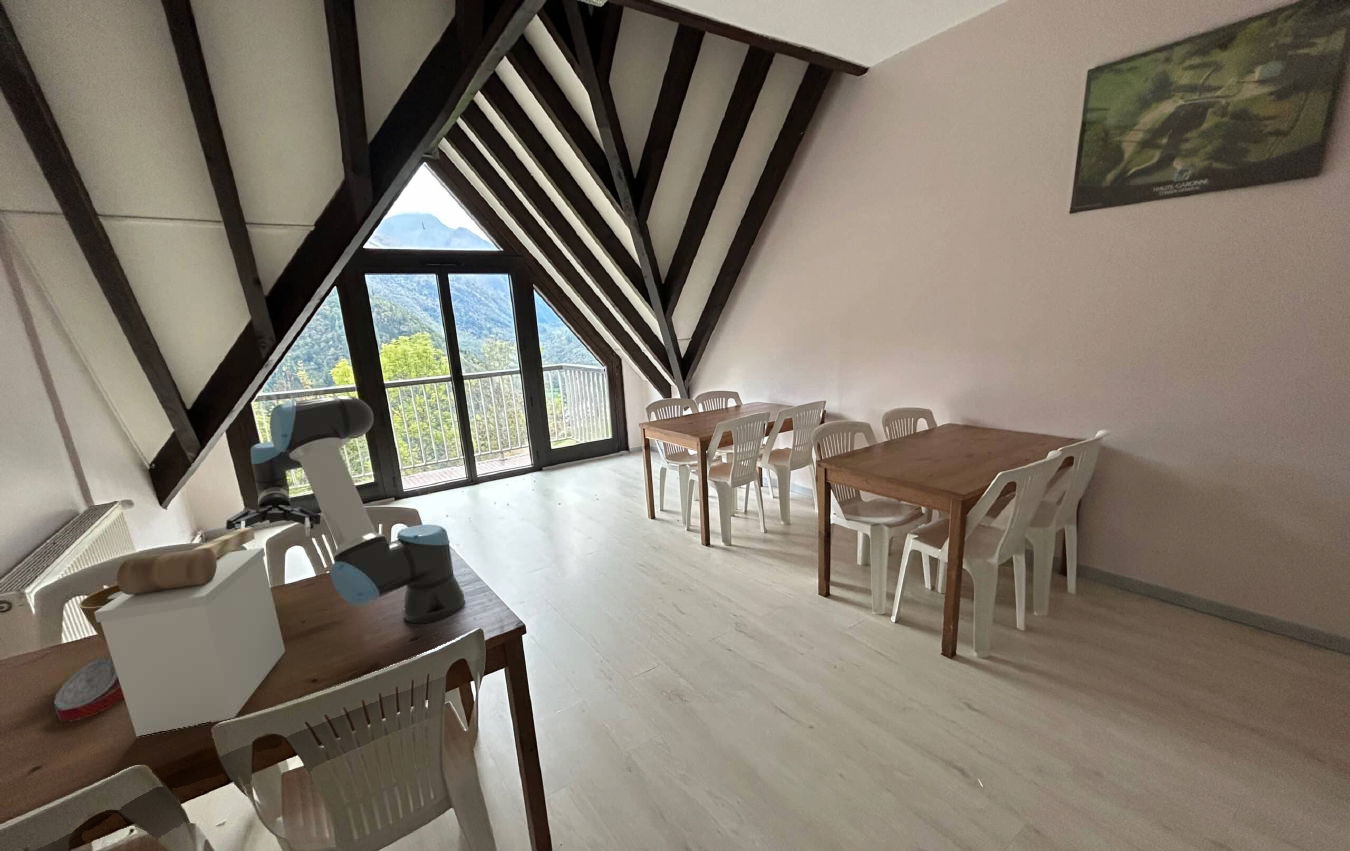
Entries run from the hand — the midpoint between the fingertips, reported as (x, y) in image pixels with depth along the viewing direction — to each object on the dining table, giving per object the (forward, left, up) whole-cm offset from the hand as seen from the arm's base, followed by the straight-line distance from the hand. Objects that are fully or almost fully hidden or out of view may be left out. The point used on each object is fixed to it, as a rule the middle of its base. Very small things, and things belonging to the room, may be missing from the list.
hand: (276, 533), depth 133 cm
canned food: (+12, +35, -25) cm, 44 cm away
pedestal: (-11, +26, -24) cm, 37 cm away
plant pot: (+26, +19, -24) cm, 40 cm away
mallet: (-8, +20, +1) cm, 22 cm away
